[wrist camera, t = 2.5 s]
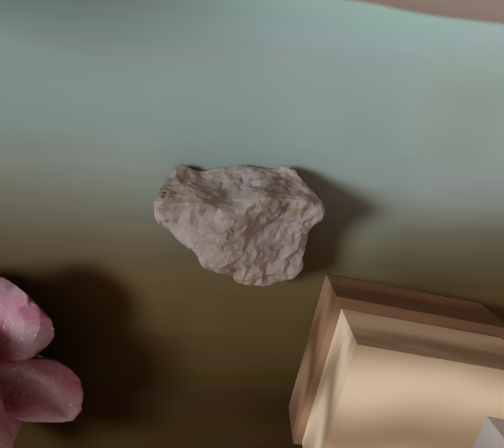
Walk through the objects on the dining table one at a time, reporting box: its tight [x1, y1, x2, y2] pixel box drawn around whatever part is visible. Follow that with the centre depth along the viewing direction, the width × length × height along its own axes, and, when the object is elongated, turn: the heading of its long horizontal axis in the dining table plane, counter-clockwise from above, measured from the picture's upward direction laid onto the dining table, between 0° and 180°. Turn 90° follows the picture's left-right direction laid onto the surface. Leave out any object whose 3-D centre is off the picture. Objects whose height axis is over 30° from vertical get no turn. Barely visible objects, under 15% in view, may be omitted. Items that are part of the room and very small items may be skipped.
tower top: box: [302, 309, 504, 448], centre depth 26 cm, size 11×11×4 cm
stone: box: [153, 164, 325, 287], centre depth 25 cm, size 8×10×6 cm
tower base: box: [289, 274, 504, 445], centre depth 29 cm, size 12×12×4 cm
